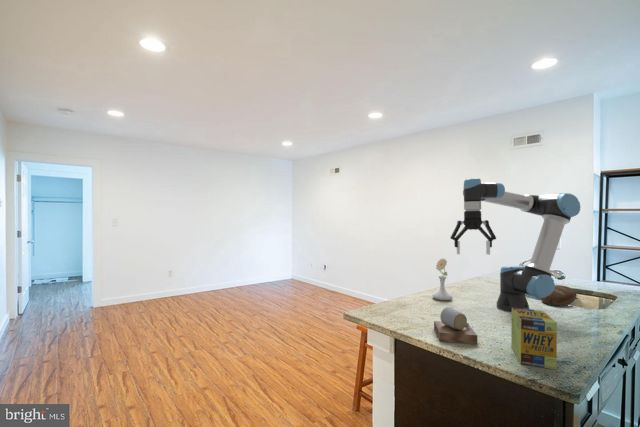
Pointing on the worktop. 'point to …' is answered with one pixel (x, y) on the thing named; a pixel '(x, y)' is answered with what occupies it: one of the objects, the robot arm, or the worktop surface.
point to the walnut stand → (455, 334)
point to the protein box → (534, 337)
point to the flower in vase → (442, 282)
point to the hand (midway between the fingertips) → (473, 254)
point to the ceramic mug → (453, 318)
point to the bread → (560, 296)
